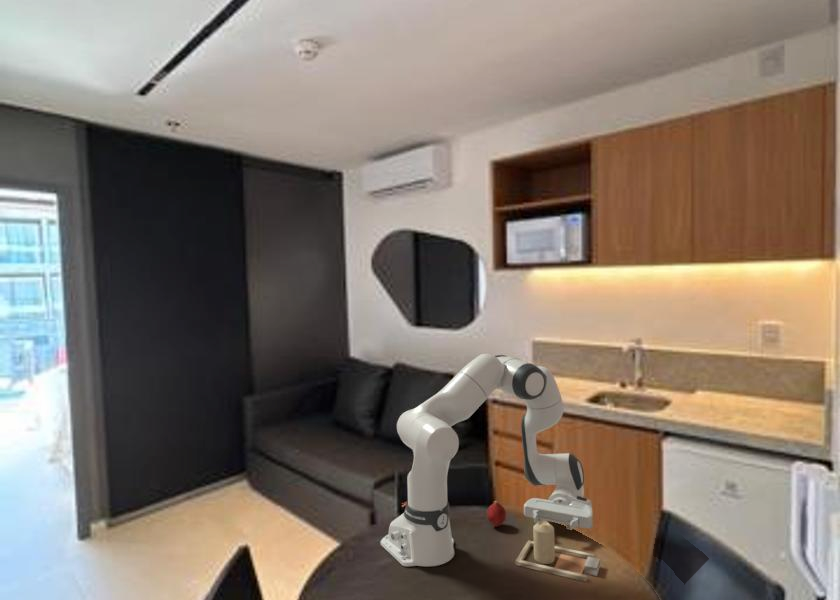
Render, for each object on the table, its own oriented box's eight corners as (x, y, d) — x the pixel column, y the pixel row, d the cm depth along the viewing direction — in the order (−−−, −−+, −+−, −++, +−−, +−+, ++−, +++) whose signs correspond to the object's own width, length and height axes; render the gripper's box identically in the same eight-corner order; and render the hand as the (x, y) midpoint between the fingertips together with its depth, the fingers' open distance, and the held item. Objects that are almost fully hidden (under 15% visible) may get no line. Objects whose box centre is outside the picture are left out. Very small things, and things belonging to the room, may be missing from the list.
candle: (555, 565, 134) (554, 528, 134) (534, 563, 135) (533, 526, 135) (554, 554, 140) (553, 518, 140) (533, 553, 141) (533, 517, 141)
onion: (496, 520, 161) (495, 495, 161) (510, 526, 157) (509, 500, 157) (483, 526, 158) (482, 500, 157) (497, 532, 153) (496, 506, 153)
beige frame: (515, 564, 135) (515, 557, 135) (528, 543, 146) (528, 536, 146) (594, 583, 126) (594, 575, 126) (602, 559, 137) (601, 552, 136)
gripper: (529, 489, 163) (517, 506, 151) (596, 500, 154) (588, 519, 142) (530, 509, 164) (517, 527, 151) (596, 521, 154) (588, 541, 142)
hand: (552, 523), depth 146 cm, fingers open, 8 cm apart
